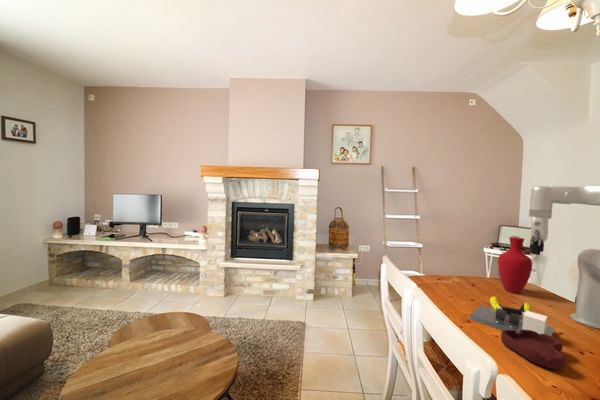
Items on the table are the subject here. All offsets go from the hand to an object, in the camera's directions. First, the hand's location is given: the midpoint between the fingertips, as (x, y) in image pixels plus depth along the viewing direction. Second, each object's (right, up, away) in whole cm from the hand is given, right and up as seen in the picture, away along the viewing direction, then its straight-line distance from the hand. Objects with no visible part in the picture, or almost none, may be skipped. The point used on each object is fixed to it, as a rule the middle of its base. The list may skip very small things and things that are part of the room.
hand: (536, 252), depth 121 cm
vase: (+12, -28, +30) cm, 42 cm away
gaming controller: (-11, -28, +1) cm, 30 cm away
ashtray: (-27, -29, -28) cm, 48 cm away
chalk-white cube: (-15, -27, -16) cm, 34 cm away
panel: (-19, -28, -9) cm, 35 cm away
